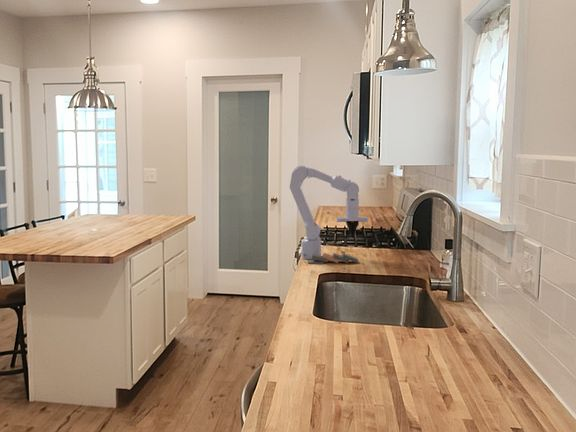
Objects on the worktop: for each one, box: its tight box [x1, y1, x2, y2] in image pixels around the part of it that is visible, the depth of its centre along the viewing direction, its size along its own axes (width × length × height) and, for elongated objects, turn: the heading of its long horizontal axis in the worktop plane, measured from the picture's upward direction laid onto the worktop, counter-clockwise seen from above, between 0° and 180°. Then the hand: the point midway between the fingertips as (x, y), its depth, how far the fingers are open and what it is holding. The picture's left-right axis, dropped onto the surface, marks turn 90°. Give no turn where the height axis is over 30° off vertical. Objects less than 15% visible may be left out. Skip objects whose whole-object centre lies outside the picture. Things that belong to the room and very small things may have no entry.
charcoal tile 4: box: [311, 254, 329, 263], centre depth 226 cm, size 2×5×7 cm
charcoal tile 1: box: [341, 252, 359, 264], centre depth 225 cm, size 2×5×7 cm
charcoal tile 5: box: [306, 259, 325, 265], centre depth 225 cm, size 2×5×7 cm
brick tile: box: [322, 252, 340, 264], centre depth 226 cm, size 2×5×7 cm
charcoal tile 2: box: [332, 252, 350, 264], centre depth 225 cm, size 2×5×7 cm
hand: (352, 237), depth 233 cm, fingers closed
